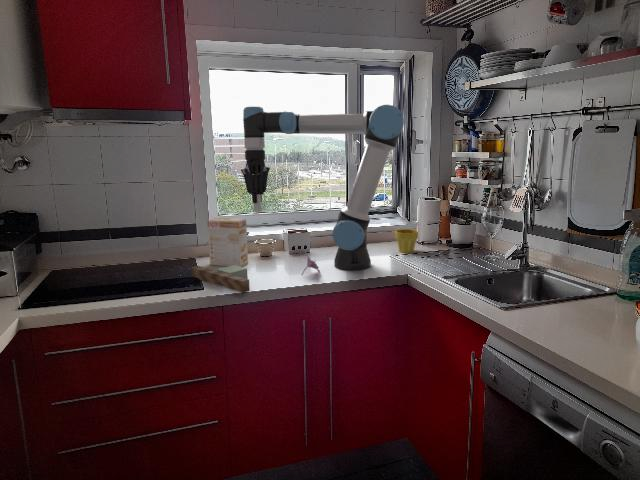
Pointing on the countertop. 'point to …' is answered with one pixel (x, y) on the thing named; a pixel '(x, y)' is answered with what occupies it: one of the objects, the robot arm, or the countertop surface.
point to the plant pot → (406, 239)
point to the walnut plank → (221, 278)
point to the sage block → (235, 271)
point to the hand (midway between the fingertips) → (257, 211)
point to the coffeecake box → (227, 241)
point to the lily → (311, 264)
